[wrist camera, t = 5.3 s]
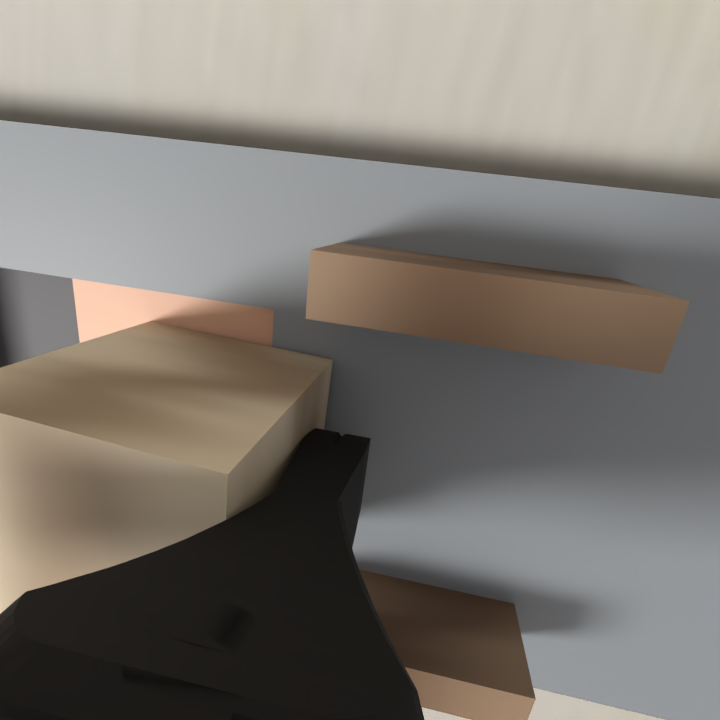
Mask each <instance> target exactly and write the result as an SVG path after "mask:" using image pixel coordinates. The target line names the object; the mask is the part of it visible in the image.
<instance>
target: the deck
mask: <svg viewBox="0 0 720 720" xmlns="http://www.w3.org/2000/svg"><path fill="white" fill-rule="evenodd" d="M340 242H341V243H349V244H356V245H364V246H371V247H379V248H386V249H394V250H401V251H409V252H416V253H424V254H432V255H439V256H447V257H454V258H462V259H469V260H477V261H484V262H492V263H499V264H507V265H515V266H522V267H530V268H537V269H545V270H552V271H560V272H567V273H575V274H582V275H590V276H598V277H605V278H613V279H620V280H623V281H627V282H630V283H633V284H636V285H639V286H643V287H646V288H649V289H652V290H655V291H659V292H662V293H665V294H668V295H672V296H675V297H678V298H681V299H684V300H688V301H690V304H689V306H688V309H687V311H686V314H685V316H684V319H683V322H682V324H681V327H680V329H679V332H678V334H677V337H676V340H675V342H674V345H673V347H672V350H671V352H670V355H669V358H668V360H667V363H666V365H665V368H664V370H663V373H662V374H660V373H653V372H647V371H640V370H634V369H627V368H621V367H614V366H608V365H601V364H595V363H589V362H582V361H576V360H569V359H563V358H556V357H550V356H543V355H537V354H530V353H524V352H518V351H511V350H505V349H498V348H492V347H485V346H479V345H472V344H466V343H459V342H453V341H447V340H440V339H434V338H427V337H421V336H414V335H408V334H401V333H395V332H388V331H382V330H376V329H369V328H363V327H356V326H350V325H343V324H337V323H330V322H324V321H317V320H311V319H306V305H307V292H308V278H309V265H310V251H311V250H312V249H316V248H320V247H324V246H328V245H332V244H336V243H340ZM72 279H79V280H85V281H92V282H99V283H105V284H112V285H118V286H125V287H131V288H138V289H144V290H151V291H157V292H164V293H170V294H177V295H183V296H190V297H196V298H203V299H209V300H216V301H222V302H229V303H235V304H242V305H248V306H255V307H261V308H268V309H274V317H273V338H272V347H275V348H280V349H284V350H289V351H294V352H299V353H303V354H308V355H313V356H317V357H322V358H327V359H331V360H333V364H332V371H331V379H330V387H329V395H328V402H327V410H326V418H325V426H324V430H329V431H334V432H339V433H340V435H341V436H343V435H345V434H350V435H356V436H361V437H367V438H371V440H370V447H369V454H368V461H367V468H366V475H365V482H364V490H363V497H362V504H361V510H360V515H359V519H358V524H357V529H356V533H355V538H354V543H353V547H352V550H353V553H354V556H355V559H356V562H357V565H358V568H359V570H364V571H368V572H373V573H378V574H382V575H387V576H391V577H396V578H400V579H405V580H409V581H414V582H418V583H423V584H427V585H432V586H436V587H441V588H445V589H450V590H454V591H459V592H464V593H468V594H473V595H477V596H482V597H486V598H491V599H495V600H500V601H504V602H509V603H513V604H515V609H516V613H517V618H518V622H519V627H520V631H521V636H522V641H523V645H524V650H525V654H526V659H527V663H528V668H529V672H530V677H531V681H532V686H533V688H537V689H542V690H546V691H550V692H554V693H558V694H562V695H566V696H570V697H575V698H579V699H583V700H587V701H591V702H595V703H599V704H604V705H608V706H612V707H616V708H620V709H624V710H628V711H633V712H637V713H641V714H645V715H649V716H653V717H657V718H662V719H666V720H720V199H718V198H709V197H699V196H690V195H681V194H672V193H663V192H654V191H645V190H635V189H626V188H617V187H608V186H599V185H590V184H580V183H571V182H562V181H553V180H544V179H535V178H525V177H516V176H507V175H498V174H489V173H480V172H471V171H461V170H452V169H443V168H434V167H425V166H416V165H406V164H397V163H388V162H379V161H370V160H361V159H352V158H342V157H333V156H324V155H315V154H306V153H297V152H287V151H278V150H269V149H260V148H251V147H242V146H233V145H223V144H214V143H205V142H196V141H187V140H178V139H168V138H159V137H150V136H141V135H132V134H123V133H114V132H104V131H95V130H86V129H77V128H68V127H59V126H49V125H40V124H31V123H22V122H13V121H4V120H0V368H1V367H4V366H8V365H11V364H14V363H17V362H20V361H24V360H27V359H30V358H33V357H36V356H40V355H43V354H46V353H49V352H53V351H56V350H59V349H62V348H65V347H69V346H72V345H75V344H78V343H80V341H79V333H78V324H77V316H76V307H75V298H74V290H73V281H72Z"/></svg>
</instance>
